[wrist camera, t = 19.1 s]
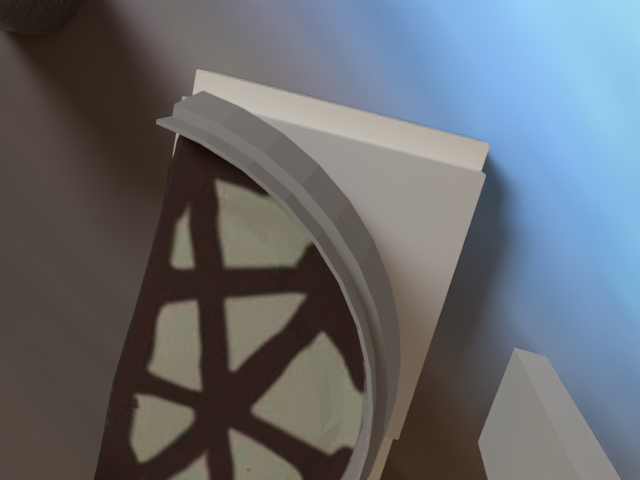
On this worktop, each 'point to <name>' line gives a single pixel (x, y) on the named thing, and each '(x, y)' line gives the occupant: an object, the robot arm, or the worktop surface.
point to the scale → (384, 201)
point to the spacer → (36, 15)
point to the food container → (253, 318)
